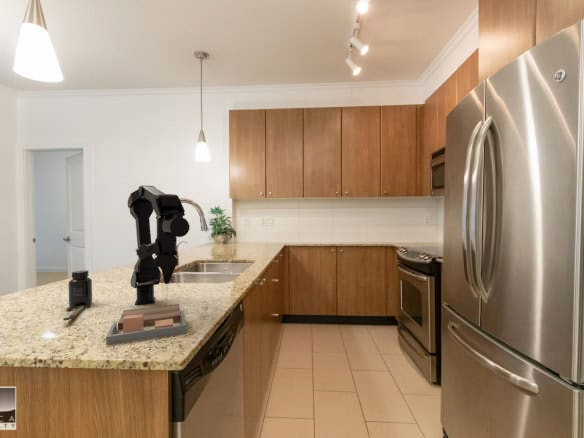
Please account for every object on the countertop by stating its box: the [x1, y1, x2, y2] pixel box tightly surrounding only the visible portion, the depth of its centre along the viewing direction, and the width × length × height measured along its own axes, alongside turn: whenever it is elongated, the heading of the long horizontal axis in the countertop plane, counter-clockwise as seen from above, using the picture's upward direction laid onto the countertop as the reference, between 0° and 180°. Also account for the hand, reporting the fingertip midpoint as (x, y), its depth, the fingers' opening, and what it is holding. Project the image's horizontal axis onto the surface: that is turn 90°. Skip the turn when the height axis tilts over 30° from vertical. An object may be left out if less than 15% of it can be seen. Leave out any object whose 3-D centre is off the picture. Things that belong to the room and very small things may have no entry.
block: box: [154, 319, 174, 329], centre depth 79 cm, size 4×4×2 cm
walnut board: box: [117, 303, 181, 331], centre depth 89 cm, size 12×16×2 cm
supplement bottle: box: [67, 269, 93, 307], centre depth 105 cm, size 7×7×12 cm
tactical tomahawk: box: [62, 303, 92, 321], centre depth 92 cm, size 21×7×1 cm, turn 22°
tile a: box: [122, 314, 145, 333], centre depth 78 cm, size 4×4×2 cm
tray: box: [105, 313, 187, 346], centre depth 78 cm, size 10×18×3 cm, turn 113°
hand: (166, 283), depth 92 cm, fingers closed
